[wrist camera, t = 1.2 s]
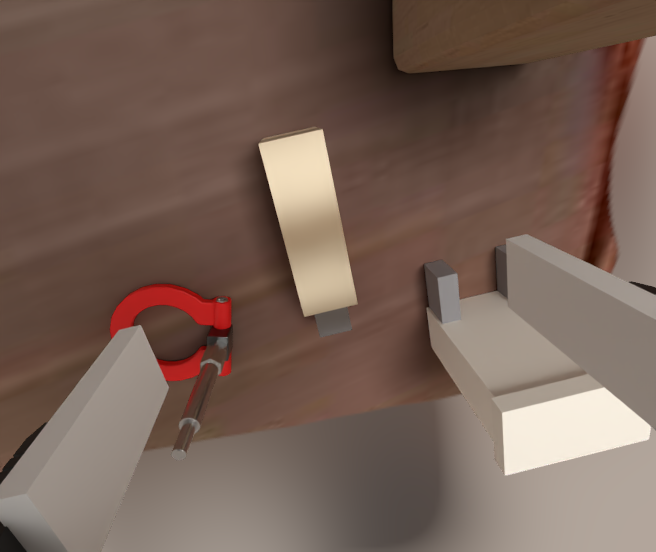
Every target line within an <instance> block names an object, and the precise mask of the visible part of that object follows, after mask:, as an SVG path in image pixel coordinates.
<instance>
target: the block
mask: <svg viewBox="0 0 656 552" xmlns="http://www.w3.org/2000/svg"><path fill="white" fill-rule="evenodd" d="M655 35H656V0H393V55H394V60H395V62H396V65H397V68H398V70H401V71H404V72H406V73H409V74H410V73H422V72H433V71H445V70H457V69H469V68H481V67H492V66H504V65H516V64H527V63H532V62H536V61H541V60H545V59H550V58H555V57H559V56H564V55H568V54H573V53H578V52H582V51H587V50H591V49H596V48H601V47H605V46H610V45H614V44H619V43H624V42H628V41H633V40H638V39H642V38H647V37H651V36H655Z"/></svg>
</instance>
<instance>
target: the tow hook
mask: <svg viewBox="0 0 656 552" xmlns="http://www.w3.org/2000/svg"><path fill="white" fill-rule="evenodd" d="M156 305H169V306H173V307H177V308H179V309H181V310H183V311H185V312H186V313H188V314H189V315H190V316H191V317H193V319H194V320H195V321H196V323H198V324H200V325H212V327H211V329H210V331H209V334H208V336H207V346H202V347H200V348H199V350H198V351H197V352H196V353H195V354H194V355H192V356H191V357H189V358H187V359H185V360H180V361H164V360H159V359H157V358H156V360H157V362H158V364H159V367H160V369H161V371H162V373H163V375H164V378H165V380H166V381H180V380H184V379H189V378H192V377H194V376H196V375H198V374H199V375H198V378H197V380H196V383H195V385H194V388H193V390H192V393H191V395H190V398H189V400H188V403H187V405H186V407H185V410H184V412H183V415H182V417H181V420H180V422H179V428H180V432H179V435H178V438H177V440H176V443H175V445H174V448H173V450H172V453H171V456H172V458H173V459H175V460H183V459H185V458H186V456H187V453H188V450H189V447H190V444H191V441H192V438H193V435H194V433H196V432H198V431H199V429H200V426H201V423H202V420H203V417H204V414H205V411H206V408H207V405H208V402H209V399H210V396H211V393H212V390H213V387H214V384H215V381H216V378H217V376H226V375H228V374H230V373H231V350H232V324H231V298H229V297H225V296H220V297H216V298H214V299H213V300H209V299H203V298H202V297H201V296H199V295H198V294H196V293H194V292H192V291H190V290H188V289H186V288H184V287H180V286H176V285H172V284H153V285H149V286H145V287H141V288H139V289H137V290H135V291H134V292H132V293H130V294H129V295H128V296H127V297H126V298H125V299H124V300H123V301H122V302H121V303H120V304H119V305H118V306H117V307H116V309H115V311H114V313H113V315H112V317H111V325H110V334H111V339H112V338H113V337H114V336H115V334H116V333H117V332H118V330H121V329H125V328H129V327H133V325H134V320H135V318H136V316H137V315H138V314H139V313H140V312H141V311H142V310H144V309H146V308H148V307H151V306H156Z"/></svg>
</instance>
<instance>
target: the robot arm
mask: <svg viewBox="0 0 656 552" xmlns="http://www.w3.org/2000/svg"><path fill="white" fill-rule="evenodd" d="M506 253H507V286H508V307H509V308H510V309H511V310H512V311H514V312H515V313H516V314H517V315H518V316H520V317H521V318H522V319H523V320H524V321H526V322H527V323H528V324H529V325H530V326H531V327H533V328H534V329H535V330H536V331H537V332H539V333H540V334H541V335H542V336H543V337H545V338H546V339H547V340H548V341H549V342H551V343H552V344H553V345H554V346H555V347H557V348H558V349H559V350H560V351H561V352H563V353H564V354H565V355H566V356H567V357H569V358H570V359H571V360H572V361H573V362H575V363H576V364H577V365H578V366H579V367H581V368H582V369H583V370H584V371H585V372H587V373H588V374H589V375H590V376H591V377H593V378H594V379H595V380H596V381H597V382H599V383H600V384H601V385H602V386H603V387H605V388H606V389H607V390H608V391H609V392H611V393H612V394H613V395H614V396H615V397H617V398H618V399H619V400H620V401H621V402H623V403H624V404H625V405H626V406H627V407H629V408H630V409H631V410H632V411H633V412H635V413H636V414H637V415H638V416H639V417H641V418H642V419H643V420H644V421H645V422H647V423H648V424H649V425H650V426H651V427H653V428H654V429H655V430H656V288H655V287H652V286H648V285H644V284H640V283H636V282H627V281H624V280H622V279H620V278H618V277H616V276H614V275H612V274H610V273H608V272H606V271H603V270H601V269H599V268H597V267H595V266H593V265H591V264H589V263H587V262H584V261H582V260H580V259H578V258H576V257H574V256H572V255H570V254H568V253H565V252H563V251H561V250H559V249H557V248H555V247H553V246H551V245H549V244H546V243H544V242H542V241H540V240H538V239H536V238H534V237H532V236H530V235H527V234H526V235H522V236H517V237H513V238H509V239H506ZM168 389H169V387H168V384H167V382H166V380H165V378H164V375H163V373H162V371H161V369H160V367H159V364H158V362H157V360H156V358H155V355H154V353H153V351H152V349H151V347H150V344H149V342H148V340H147V338H146V335H145V333H144V331H143V329H142V327H141V325H138V326H134V327H129V328H125V329H121V330H118V332H117V333H116V334H115V336H114V337H113V338H112V340H111V341H110V342H109V343H108V345H107V346H106V347H105V349H104V350H103V351H102V353H101V354H100V355H99V357H98V358H97V359H96V360H95V362H94V363H93V364H92V366H91V367H90V368H89V370H88V371H87V372H86V373H85V375H84V376H83V377H82V379H81V380H80V381H79V383H78V384H77V385H76V387H75V388H74V389H73V390H72V392H71V393H70V394H69V396H68V397H67V398H66V400H65V401H64V402H63V403H62V405H61V406H60V407H59V409H58V410H57V411H56V413H55V414H54V415H53V417H52V418H51V419H50V420H49V422H46V423H44V424H43V425H42V426H41V427H40V428H38V429H37V430H36V431H35V432H34V433H33V434H31V435H30V436H29V437H28V438H27V439H26V440H25V441H24V442H23V444H22V445H21V446H20V448H19V449H18V450H17V451H16V453H15V454H14V455H13V456H14V458H11V459H10V460H9V461H8V463H7V464H6V465H5V466H4V468H3V469H2V470H3V471H2V472H0V552H101V551H102V548H103V546H104V543H105V541H106V539H107V536H108V534H109V531H110V529H111V527H112V524H113V521H114V519H115V517H116V514H117V512H118V510H119V507H120V505H121V502H122V500H123V498H124V495H125V493H126V490H127V488H128V486H129V483H130V481H131V478H132V476H133V474H134V471H135V469H136V466H137V464H138V462H139V459H140V457H141V454H142V452H143V450H144V447H145V445H146V442H147V440H148V438H149V435H150V433H151V430H152V428H153V426H154V423H155V421H156V418H157V416H158V414H159V411H160V409H161V406H162V404H163V402H164V399H165V397H166V394H167V392H168Z"/></svg>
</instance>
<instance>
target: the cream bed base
mask: <svg viewBox="0 0 656 552" xmlns="http://www.w3.org/2000/svg"><path fill="white" fill-rule="evenodd" d="M495 249H496V273H497V291H493V292H489V293H485V294H481V295H477V296H473V297H468V298H464V299H460V300H459V289H458V277H457V273H456V272H455V271H454V270H453V269H452V268H451V267H450V266H448V265H447V264H446V263H445V262H444V261H443V260H439V261H435V262H430V263H426V264H424V268H425V276H426V285H427V293H428V301H429V307H427V308H426V309H427V317H428V325H429V333H430V341H431V347H432V349H433V350H434V352H435V353H436V355H437V356H438V358H439V359H440V361H441V362H442V364H443V366H444V367H445V369H446V370H447V372H448V373H449V375H450V376H451V378H452V379H453V381H454V382H455V384H456V385H457V387H458V388H459V390H460V392H461V393H462V395H463V396H464V398H465V399H466V401H467V402H468V404H469V405H470V407H471V408H472V410H473V411H474V413H475V414H476V416H477V418H478V419H479V421H480V422H481V423H482V425H483V427H484V428H485V430H486V431H487V433H488V434H489V436H490V437H491V439H492V440H493V442H494V457H495V461H496V462H497V464H498V466H499V467H500V469H501V470H502V472H503V474H504V475H505V476H506V475H510V474H514V473H517V472H522V471H526V470H529V469H534V468H538V467H542V466H546V465H549V464H553V463H557V462H561V461H565V460H569V459H573V458H577V457H581V456H585V455H589V454H593V453H597V452H601V451H605V450H609V449H613V448H617V447H620V446H624V445H628V444H633V443H637V442H640V441H645V440H648V439H649V435H650V429H651V426H650V425H649V424H648V423H647V422H645V421H644V420H643V419H642V418H641V417H639V416H638V415H637V414H636V413H635V412H633V411H632V410H631V409H630V408H629V407H627V406H626V405H625V404H624V403H623V402H621V401H620V400H619V399H618V398H617V397H615V396H614V395H613V394H612V393H611V392H609V391H608V390H607V389H606V388H605V387H603V386H602V385H601V384H600V383H599V382H597V381H596V380H595V379H594V378H593V377H591V376H590V375H589V374H588V373H587V372H585V371H584V370H583V369H582V368H581V367H579V366H578V365H577V364H576V363H575V362H573V361H572V360H571V359H570V358H569V357H567V356H566V355H565V354H564V353H563V352H561V351H560V350H559V349H558V348H557V347H555V346H554V345H553V344H552V343H551V342H549V341H548V340H547V339H546V338H545V337H543V336H542V335H541V334H540V333H539V332H537V331H536V330H535V329H534V328H533V327H531V326H530V325H529V324H528V323H527V322H526V321H524V320H523V319H522V318H521V317H520V316H518V315H517V314H516V313H515V312H514V311H512V310H511V309H510V308H509V307H508V286H507V253H506V245H502V246H498V247H495Z"/></svg>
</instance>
